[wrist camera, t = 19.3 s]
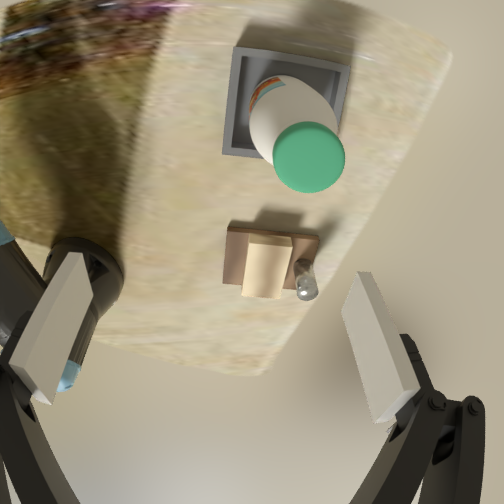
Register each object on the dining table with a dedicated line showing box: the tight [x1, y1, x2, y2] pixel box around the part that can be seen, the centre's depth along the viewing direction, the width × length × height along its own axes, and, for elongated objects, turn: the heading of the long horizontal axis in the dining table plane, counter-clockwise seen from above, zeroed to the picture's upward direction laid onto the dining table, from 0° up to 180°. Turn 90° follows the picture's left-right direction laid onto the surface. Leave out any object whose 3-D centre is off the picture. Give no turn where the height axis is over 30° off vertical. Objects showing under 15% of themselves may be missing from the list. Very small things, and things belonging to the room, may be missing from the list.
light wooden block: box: [242, 233, 293, 299], centre depth 47 cm, size 6×10×2 cm, turn 173°
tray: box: [222, 47, 351, 159], centre depth 34 cm, size 13×13×3 cm
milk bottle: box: [249, 75, 345, 193], centre depth 27 cm, size 8×8×20 cm
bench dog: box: [293, 259, 318, 301], centre depth 46 cm, size 3×3×6 cm
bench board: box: [223, 227, 320, 290], centre depth 49 cm, size 14×10×1 cm
